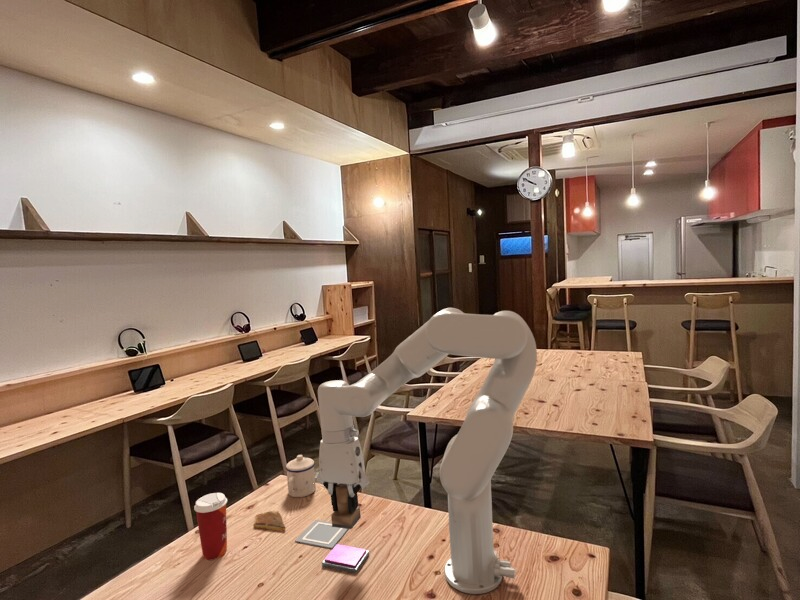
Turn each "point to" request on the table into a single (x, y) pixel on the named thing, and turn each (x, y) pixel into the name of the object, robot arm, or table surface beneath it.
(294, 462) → the teacup with lid
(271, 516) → the shard
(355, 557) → the ink pad
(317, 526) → the marked card
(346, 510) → the stamp
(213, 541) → the paper cup
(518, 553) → the table surface
